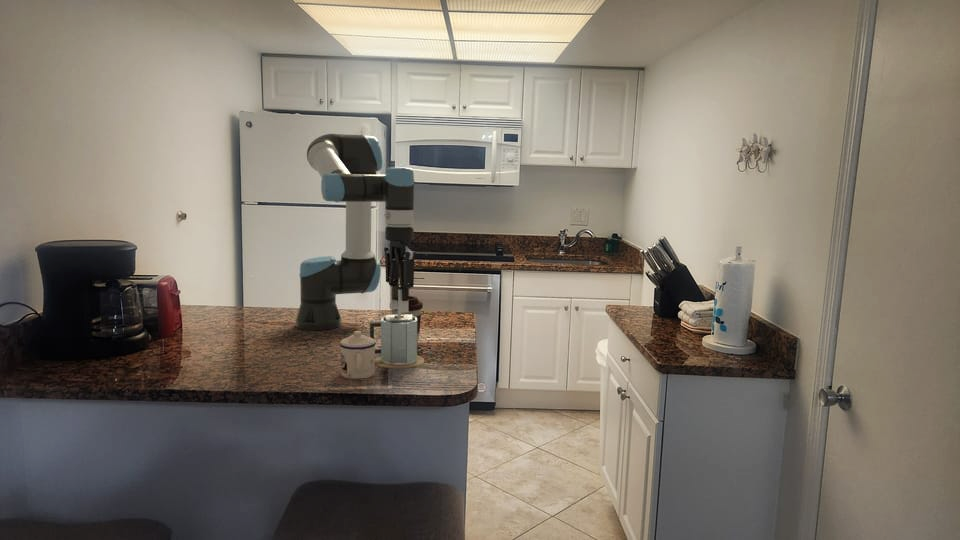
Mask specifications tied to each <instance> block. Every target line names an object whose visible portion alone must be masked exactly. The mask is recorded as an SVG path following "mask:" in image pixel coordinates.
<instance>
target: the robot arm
mask: <svg viewBox="0 0 960 540" xmlns="http://www.w3.org/2000/svg"><path fill="white" fill-rule="evenodd" d="M306 160H307V161H308V163H309V166H310V167H311V168H312V169H313V170H315V171H316V172H318V174H319V176H320V178H321V181H320V182H321V183H320V184H321V185H320V186H321V187H320V189H321V190H320V191H321V196H322V199H323V200H324V201H325V202H335V203H343V202H345V250H344V251H343V252H342V253H341V255H340V256H341V258H340V259H339V260H337V259H336V258H335V256H331V255H328V256H318V257H313V258H307V259H305V260H303V261H302V262H301V263H300V265H299V283H300V284H299V286H300V291H299V292H300V293H299V294H300V305H299V308H298V310H297V314H296V318H295V327H296V328H297V329H299V330H305V331H306V330H307V331H324V330H331V329H336V328H339V327H341V326H342V317H341V314H340V311H339V308H338V305H337V300H336V299H337V298H336V297H337V295H346V294H347V295H349V294H365V293H371V292H375V291H376V290H377V288H378V286H379V284H380V281H381V280H380V279H381V263H380V261H379V260H378V259H377V258H376V255H375V253H374V252H373V251H372V203H385V213H384V217H385V224H386V225H387V226H386V227H385V228H384V229H385V234H384V235H385V237H384V238H385V240H387V241H388V242H389V245H388V246H384V249H383V250H384V257H385V258H384V259H385V263H384V264H385V265H384V267H385V282H386V283H388V286H389V308H390V310H391V311H392V310H395V309H397V300H393V299H392V285H400V287H399V288H398V313H405V312H408V302H409V296H410V295H409V293H410V291H409V290H410V289H411V288H414V284H415V283H414V282H415V259H416V251H413V250H411V247H410V242H411V241H413V240H414V233H415V231H414V229H415V228H414V227H413V226H412V225H414V223H415V221H414V219H415V218H414V214H415V213H414V211H415V208H414V205H415V202H414V201H415V200H414V198H415V196H414V195H415V174H414V170H413V169H412V168H411V167H387V168H386V169H385V174H377V172H380V171H381V170H382V168H383V153H382V148H381V145H380V142H379V140H378V139H377V137H375V136H374V135H373V136H371V135H365V134H342V133H327V134H326V133H325V134H324V135H320V136H318V137H317V138H315V139H314V140H313V141H311V143H309V145H308V147H307V149H306Z"/></svg>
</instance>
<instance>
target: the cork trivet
mask: <svg viewBox="0 0 960 540" xmlns="http://www.w3.org/2000/svg"><path fill="white" fill-rule="evenodd" d="M424 362H425V359H424V357H422V356H420V355H418V354H417V362H416V363H414V364H411V365H406V366H390V365H386V364H383V363H382V362H381V355H380V356H377V357H375V366H379V367H381V368H386V369H410V368H414V367H419V366H420V365H422V364H424Z"/></svg>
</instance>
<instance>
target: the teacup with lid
mask: <svg viewBox="0 0 960 540" xmlns="http://www.w3.org/2000/svg"><path fill="white" fill-rule="evenodd" d="M376 345H377V341H376V339H375V338H374V339H373V338H370V336H367V335H365V334H363V332H362V330H355V331H354V332H353V334H351V335H350V336H348V337H345V338H343V339H341V340H340V342H339V346H340V374H341V376H342V377H344V378H347V379H365V378H369V377H372V376H374V375H375V374H376V364H375V358H376V353H375V349H376Z"/></svg>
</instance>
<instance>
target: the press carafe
mask: <svg viewBox="0 0 960 540" xmlns="http://www.w3.org/2000/svg"><path fill="white" fill-rule="evenodd" d="M397 322H401V323H397ZM375 328H380V348H375V354H380V356H381V362H382V363H383V364H386V365H390V366H406V365H411V364H414V363H416V362H417V355H418V345H417V317H413V316H412V315H401V318H397V315H392V314H386V315H385V316H381V319H380V321H379V322H377V321H376V322H374V321H373V322H369V337H370V338H373V339H374V340H375Z"/></svg>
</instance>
